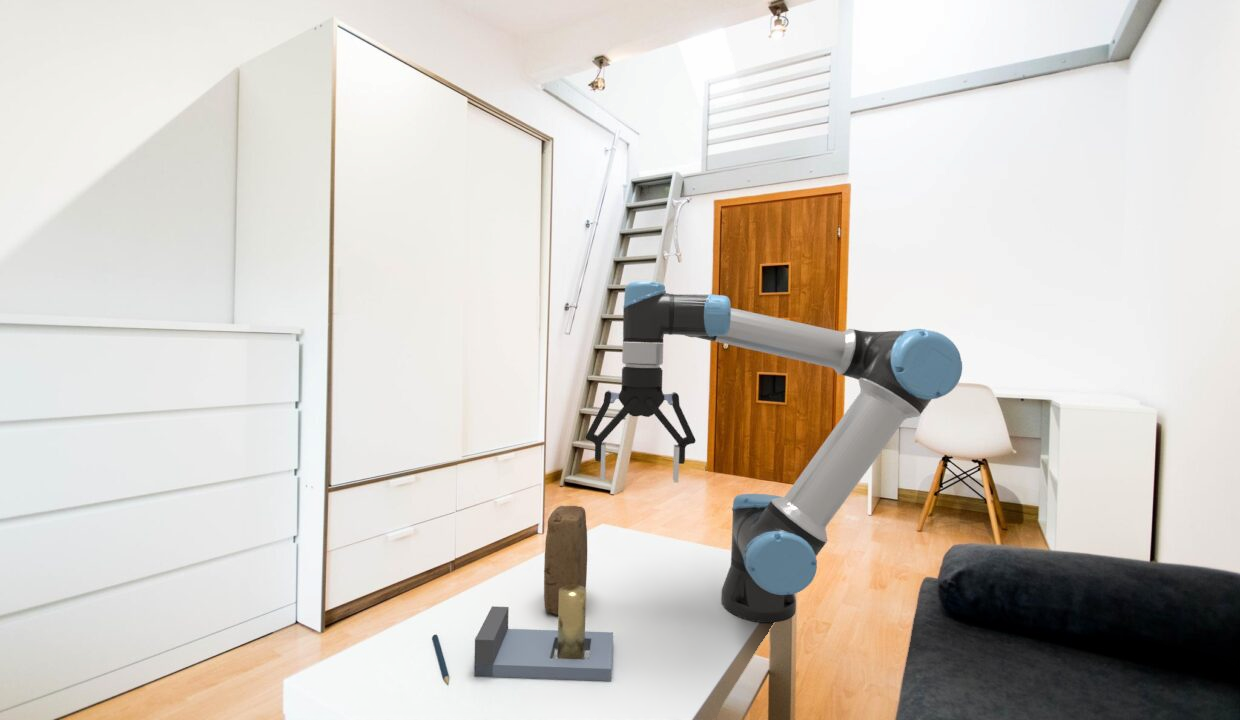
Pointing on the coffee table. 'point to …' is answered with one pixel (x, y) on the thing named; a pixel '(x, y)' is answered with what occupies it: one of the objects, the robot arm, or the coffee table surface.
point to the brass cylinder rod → (571, 622)
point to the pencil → (441, 659)
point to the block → (564, 553)
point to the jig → (536, 652)
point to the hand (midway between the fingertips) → (639, 479)
